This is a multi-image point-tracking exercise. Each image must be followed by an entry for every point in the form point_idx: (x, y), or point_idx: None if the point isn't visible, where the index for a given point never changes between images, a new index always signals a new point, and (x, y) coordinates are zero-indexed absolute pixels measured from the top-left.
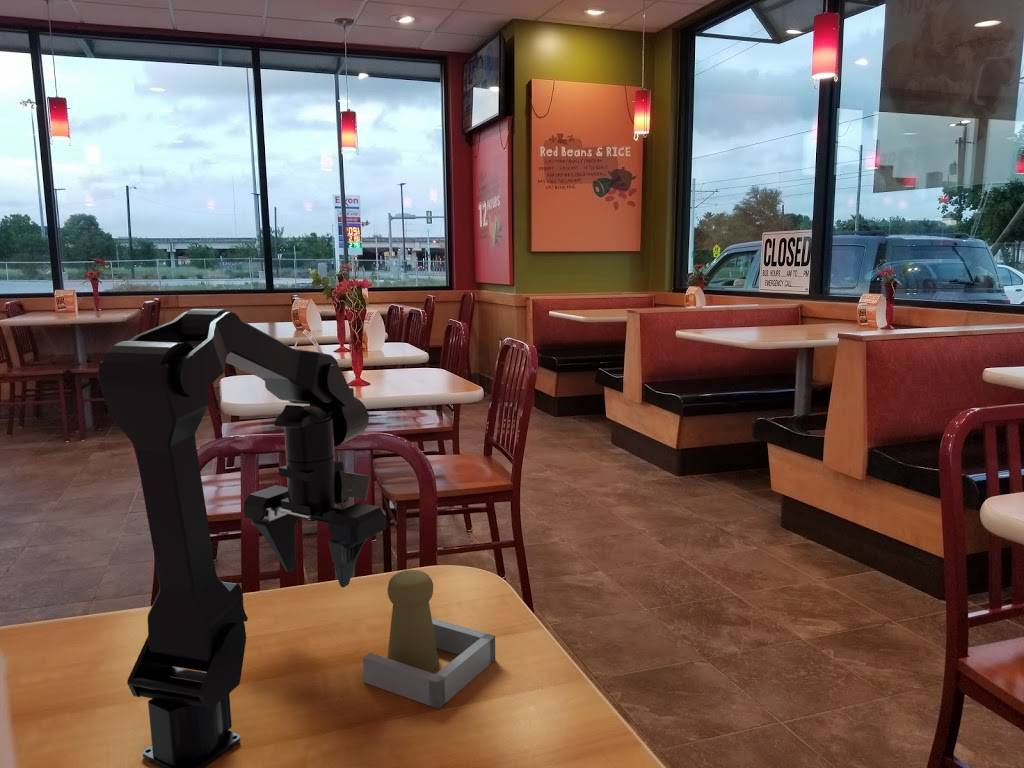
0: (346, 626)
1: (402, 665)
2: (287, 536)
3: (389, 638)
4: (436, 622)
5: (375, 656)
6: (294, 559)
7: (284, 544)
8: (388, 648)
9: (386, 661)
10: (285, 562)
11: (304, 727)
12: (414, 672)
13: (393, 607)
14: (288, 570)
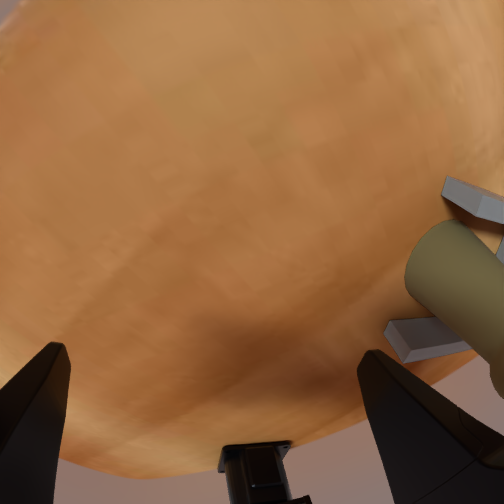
0: (256, 184)
1: (455, 346)
2: (17, 496)
3: (441, 317)
4: (499, 214)
5: (420, 352)
6: (50, 375)
7: (38, 478)
8: (428, 307)
9: (436, 351)
10: (65, 413)
11: (341, 408)
12: (467, 347)
13: (486, 360)
14: (69, 370)
